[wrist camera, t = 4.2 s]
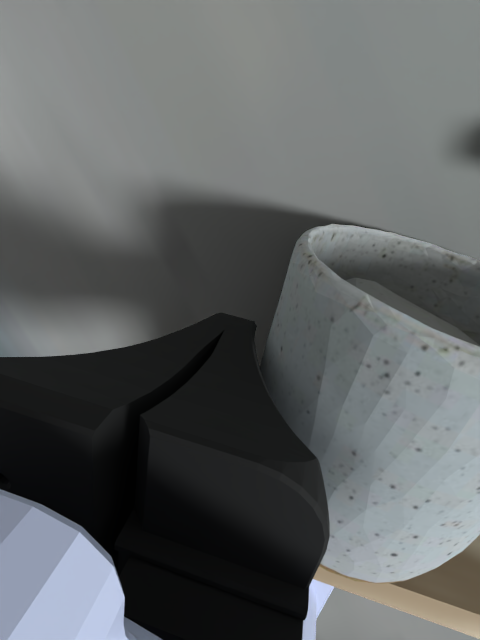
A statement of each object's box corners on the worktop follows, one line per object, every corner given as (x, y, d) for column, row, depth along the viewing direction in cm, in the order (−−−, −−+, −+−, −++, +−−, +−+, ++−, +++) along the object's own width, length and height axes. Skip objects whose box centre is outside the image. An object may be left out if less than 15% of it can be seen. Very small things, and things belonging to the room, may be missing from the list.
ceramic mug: (252, 391, 16) (198, 568, 9) (306, 208, 12) (285, 275, 5) (492, 467, 15) (635, 731, 8) (631, 293, 11) (1117, 511, 4)
